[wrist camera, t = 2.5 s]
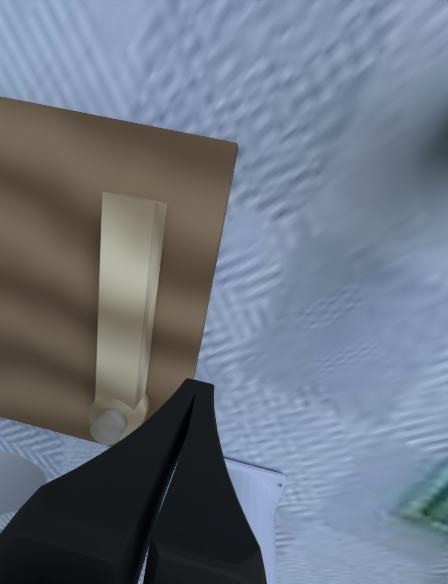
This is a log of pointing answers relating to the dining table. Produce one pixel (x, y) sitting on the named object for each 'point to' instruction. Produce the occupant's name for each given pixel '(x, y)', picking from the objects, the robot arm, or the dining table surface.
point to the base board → (97, 252)
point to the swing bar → (125, 312)
